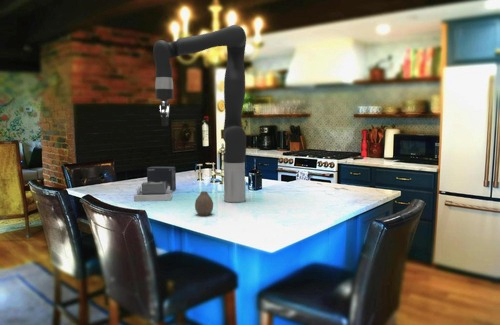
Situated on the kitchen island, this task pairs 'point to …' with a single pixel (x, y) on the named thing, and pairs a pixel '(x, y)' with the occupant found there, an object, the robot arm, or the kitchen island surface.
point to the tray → (153, 196)
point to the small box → (162, 176)
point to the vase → (204, 204)
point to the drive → (153, 188)
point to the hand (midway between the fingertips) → (165, 125)
